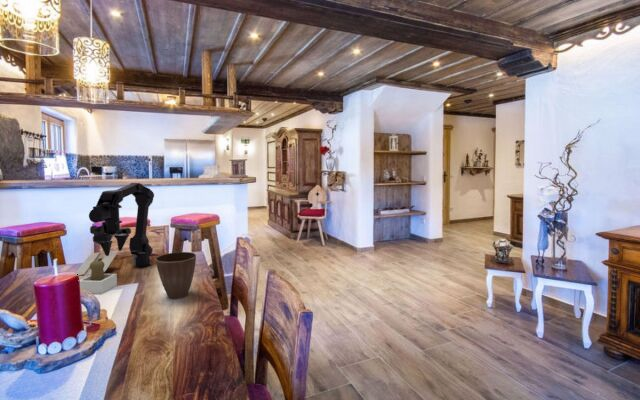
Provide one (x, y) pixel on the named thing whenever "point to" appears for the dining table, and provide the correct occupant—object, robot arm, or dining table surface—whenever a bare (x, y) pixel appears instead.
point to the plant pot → (176, 273)
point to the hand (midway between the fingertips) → (113, 253)
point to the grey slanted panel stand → (96, 257)
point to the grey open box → (99, 284)
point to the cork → (97, 271)
